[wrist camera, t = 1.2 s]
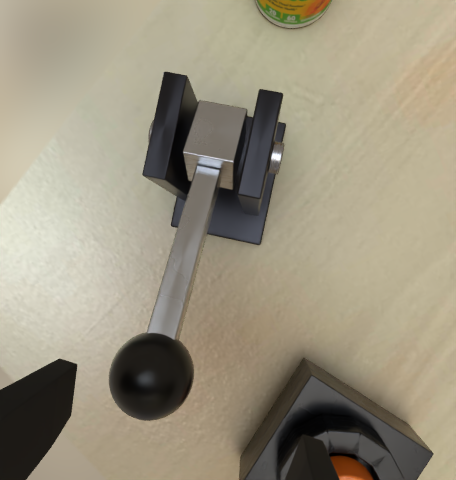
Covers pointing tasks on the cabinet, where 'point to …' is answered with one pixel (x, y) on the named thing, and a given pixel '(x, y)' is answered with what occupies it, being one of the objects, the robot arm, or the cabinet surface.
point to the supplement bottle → (293, 11)
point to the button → (350, 469)
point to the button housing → (332, 430)
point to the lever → (180, 272)
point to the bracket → (250, 168)
